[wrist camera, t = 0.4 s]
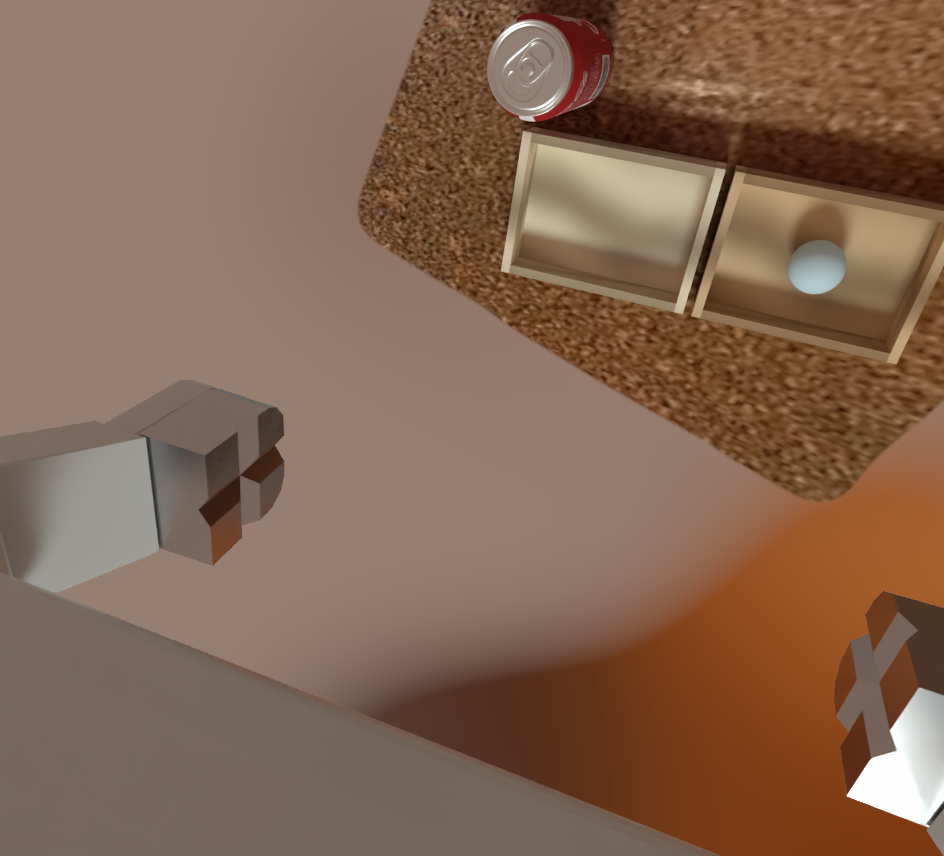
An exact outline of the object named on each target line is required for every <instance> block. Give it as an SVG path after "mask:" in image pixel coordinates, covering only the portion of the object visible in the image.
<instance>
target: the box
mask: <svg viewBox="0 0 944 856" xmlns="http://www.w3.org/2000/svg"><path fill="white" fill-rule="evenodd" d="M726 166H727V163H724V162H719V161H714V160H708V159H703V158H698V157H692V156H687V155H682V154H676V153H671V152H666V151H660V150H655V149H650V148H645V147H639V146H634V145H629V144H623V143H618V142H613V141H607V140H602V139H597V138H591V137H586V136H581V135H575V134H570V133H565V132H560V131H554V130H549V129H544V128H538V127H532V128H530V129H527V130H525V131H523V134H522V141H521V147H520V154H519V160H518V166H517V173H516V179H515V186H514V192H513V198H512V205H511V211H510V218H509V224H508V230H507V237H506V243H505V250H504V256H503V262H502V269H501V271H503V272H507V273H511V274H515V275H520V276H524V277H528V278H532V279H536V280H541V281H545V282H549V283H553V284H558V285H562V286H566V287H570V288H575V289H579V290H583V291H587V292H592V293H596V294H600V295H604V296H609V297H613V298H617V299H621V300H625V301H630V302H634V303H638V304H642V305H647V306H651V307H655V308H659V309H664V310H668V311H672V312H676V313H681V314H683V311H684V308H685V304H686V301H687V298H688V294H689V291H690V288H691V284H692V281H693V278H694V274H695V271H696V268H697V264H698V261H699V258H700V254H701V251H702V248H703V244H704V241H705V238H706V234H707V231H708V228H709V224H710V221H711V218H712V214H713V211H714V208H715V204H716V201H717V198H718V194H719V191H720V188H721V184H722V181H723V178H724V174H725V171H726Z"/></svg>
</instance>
